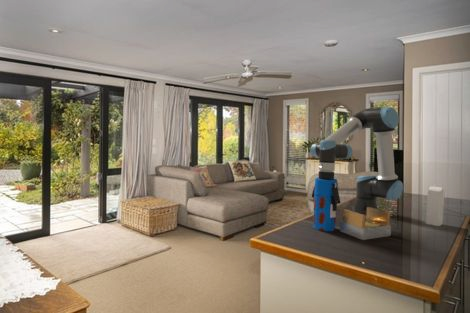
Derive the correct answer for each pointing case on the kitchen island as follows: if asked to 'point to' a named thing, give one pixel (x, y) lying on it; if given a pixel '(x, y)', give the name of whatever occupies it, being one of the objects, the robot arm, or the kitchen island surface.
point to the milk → (435, 205)
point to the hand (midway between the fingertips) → (324, 214)
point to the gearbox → (366, 224)
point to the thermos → (323, 205)
